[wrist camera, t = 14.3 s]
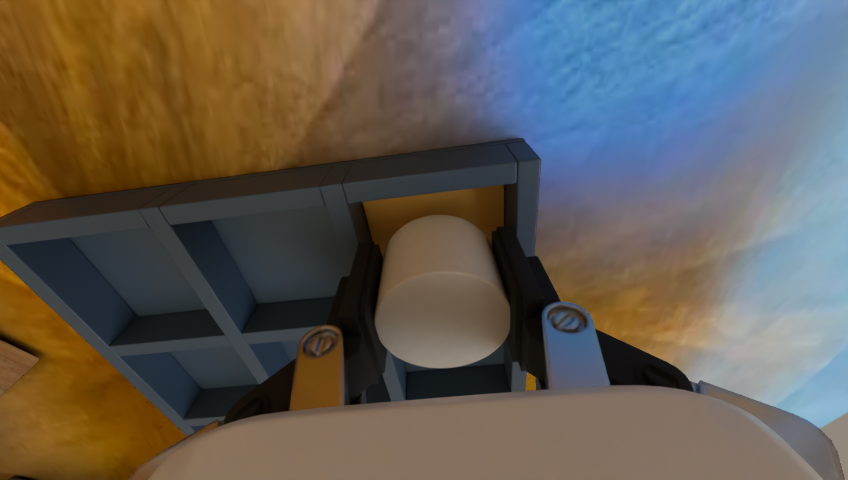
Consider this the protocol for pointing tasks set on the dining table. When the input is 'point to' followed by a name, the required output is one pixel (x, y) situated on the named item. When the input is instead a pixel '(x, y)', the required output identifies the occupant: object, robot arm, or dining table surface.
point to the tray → (13, 365)
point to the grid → (257, 268)
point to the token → (441, 294)
